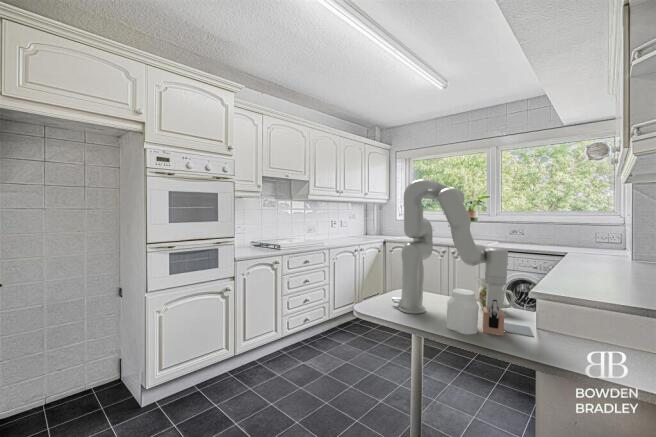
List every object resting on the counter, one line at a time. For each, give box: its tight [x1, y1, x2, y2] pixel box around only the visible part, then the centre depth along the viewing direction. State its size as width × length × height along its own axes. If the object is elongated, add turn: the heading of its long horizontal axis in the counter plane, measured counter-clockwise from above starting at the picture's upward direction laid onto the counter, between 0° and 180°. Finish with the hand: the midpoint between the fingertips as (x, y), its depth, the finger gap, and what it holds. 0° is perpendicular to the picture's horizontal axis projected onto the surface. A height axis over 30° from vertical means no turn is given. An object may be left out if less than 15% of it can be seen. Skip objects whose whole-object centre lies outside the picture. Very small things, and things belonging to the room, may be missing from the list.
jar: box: [445, 288, 480, 335], centre depth 126 cm, size 12×10×15 cm
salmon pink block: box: [481, 307, 505, 336], centre depth 125 cm, size 7×7×8 cm
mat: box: [503, 322, 534, 338], centre depth 127 cm, size 10×10×1 cm
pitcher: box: [474, 277, 515, 310], centre depth 149 cm, size 11×18×14 cm, turn 40°
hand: (492, 323), depth 125 cm, fingers closed on salmon pink block, 7 cm apart
